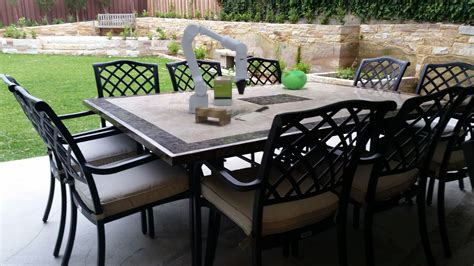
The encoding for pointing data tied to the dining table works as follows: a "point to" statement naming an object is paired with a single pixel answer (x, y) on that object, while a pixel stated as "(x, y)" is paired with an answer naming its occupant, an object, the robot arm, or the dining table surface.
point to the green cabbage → (294, 78)
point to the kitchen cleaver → (252, 114)
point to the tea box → (223, 91)
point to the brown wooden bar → (233, 112)
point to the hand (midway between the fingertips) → (241, 94)
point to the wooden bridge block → (212, 115)
